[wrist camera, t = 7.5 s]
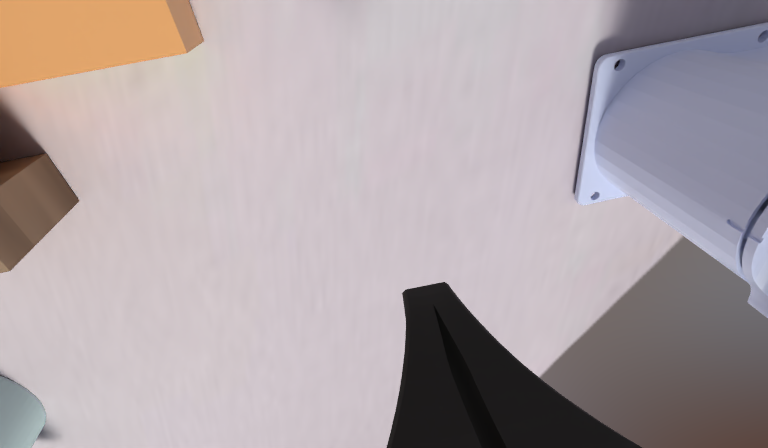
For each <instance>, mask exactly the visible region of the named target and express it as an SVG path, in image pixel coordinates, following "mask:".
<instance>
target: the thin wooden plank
mask: <svg viewBox="0 0 768 448" xmlns="http://www.w3.org/2000/svg"><path fill="white" fill-rule="evenodd" d="M202 42H204V40H203V38H202V35H201V32H200V30H199V27H198V24H197V22H196V19H195V16H194V14H193V11H192V8H191V6H190V3H189V0H0V88H2V87H7V86H12V85H18V84H23V83H28V82H34V81H39V80H45V79H50V78H55V77H61V76H66V75H72V74H77V73H82V72H88V71H93V70H99V69H104V68H109V67H115V66H120V65H125V64H131V63H136V62H142V61H147V60H152V59H158V58H163V57H169V56H174V55H179V54H185V53H188V52H189V51H191V50H192V49H194V48H195V47H196V46H198V45H199V44H201V43H202Z"/></svg>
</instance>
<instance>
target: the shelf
mask: <svg viewBox="0 0 768 448" xmlns="http://www.w3.org/2000/svg"><path fill="white" fill-rule="evenodd" d="M78 202H79V200H78V199H77V197H76V196H75V194H74V193H73V191H72V190H71V189H70V187H69V186H68V184H67V183H66V181H65V180H64V178H63V177H62V176H61V174H60V173H59V171H58V170H57V168H56V167H55V166H54V164H53V163H52V161H51V160H50V158H49V157H48V156H47V154H41V155H36V156H31V157H26V158H20V159H15V160H10V161H5V162H0V273H3V272H7V271H11V270H12V269H13V267H14V266H15V265H16V264H17V263H18V262H19V261H20V260H21V259H22V258H23V257H24V256H25V255H26V254H27V253H28V252H29V251H30V250H31V249H32V248H33V247H34V246H35V245H36V244H37V243H38V242H39V241H40V240H41V239H42V238H43V237H44V236H45V235H46V234H47V233H48V232H49V231H50V230H51V229H52V228H53V227H54V226H55V225H56V224H57V223H58V222H59V221H60V220H61V219H62V218H63V217H64V216H65V215H66V214H67V213H68V212H69V211H70V210H71V209H72V208H73V207H74V206H75V205H76V204H77V203H78Z"/></svg>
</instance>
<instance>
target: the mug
mask: <svg viewBox="0 0 768 448" xmlns="http://www.w3.org/2000/svg"><path fill="white" fill-rule="evenodd" d="M45 422H46V413H45V409H44V407H43V405H42V404H41V402H40V401H39V400H38V399H37V398H36V397H35V396H34V395H33V394H32V393H31V392H30V391H28V390H27V389H26V388H24V387H22V386H21V385H19V384H17V383H15V382H14V381H11V380H9V379H7V378H5V377H2V376H0V448H31V447H32V446H33V444H34V442H35V440H36V439H37V437H38V435H39V434H40V432H41V430H42V428H43V427H44V425H45Z"/></svg>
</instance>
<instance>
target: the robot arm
mask: <svg viewBox="0 0 768 448" xmlns="http://www.w3.org/2000/svg"><path fill="white" fill-rule="evenodd" d="M760 34H761V35H760ZM759 35H760V37H759ZM758 37H759V38H758ZM618 60H620V63H619V65H618V66H617V67H616V68H615V69H614V65H615V63H616V62H617V61H618ZM593 193H595V194H594V195H593V196H591V195H592V194H593ZM625 196H630V197H631V198H632V199H634V200H635V201H636V202H638V203H639V204H641V205H642V206H643V207H645V208H646V209H647V210H649V211H650V212H652V213H653V214H654V215H656V216H657V217H658V218H660V219H661V220H663V221H664V222H665V223H667V224H668V225H669V226H671V227H672V228H674V229H675V230H676V231H678V232H679V233H680V234H682V235H683V236H685V237H686V238H687V239H689V240H690V241H691V242H693V243H695V244H696V245H697V246H698V247H700V248H701V249H703V250H704V251H705V252H707V253H708V254H709V255H711V256H712V257H714V258H715V259H716V260H718V261H719V262H720V263H722V264H723V265H724V266H726V267H727V268H729V269H730V270H731V271H733V272H734V273H735V274H737V275H738V276H740V277H741V278H742V279H744V280H745V281H747V282H748V283H749V284H750V286H751V294H750V296H749V299H748V303H749V304H750V305H751V306H753V307H754V308H755V309H757V310H758V311H759V312H760V313H762V314H763V315H765V316H766V317H767V318H768V22H767V23H761V24H756V25H751V26H746V27H741V28H736V29H731V30H726V31H721V32H716V33H711V34H706V35H701V36H696V37H691V38H686V39H680V40H675V41H670V42H665V43H660V44H655V45H650V46H645V47H640V48H635V49H630V50H625V51H620V52H615V53H610V54H606V55H603V56H602V57H600V58H599V59H598V61H597V62H596V64H595V67H594V73H593V79H592V86H591V92H590V99H589V105H588V112H587V119H586V125H585V132H584V138H583V145H582V152H581V158H580V165H579V171H578V178H577V184H576V191H575V200H576V202H577V203H578V204H580V205H588V204H592V203H597V202H602V201H606V200H611V199H616V198H620V197H625ZM402 294H403V301H404V308H405V316H406V340H405V355H404V363H403V371H402V379H401V385H400V391H399V396H398V402H397V407H396V412H395V416H394V420H393V425H392V429H391V433H390V437H389V441H388V445H387V448H642V447H640V446H639V445H637V444H635V443H634V442H632V441H630V440H628V439H627V438H625V437H623V436H622V435H620V434H619V433H617V432H615V431H614V430H612V429H611V428H609V427H608V426H606V425H604V424H603V423H601V422H600V421H598V420H597V419H595V418H594V417H592V416H591V415H589V414H588V413H587V412H585V411H584V410H582V409H581V408H579V407H578V406H576V405H575V404H573V403H572V402H571V401H569V400H568V399H566V398H565V397H564V396H562V395H561V394H559V393H558V392H557V391H555V390H554V389H553V388H552V387H550V386H549V385H548V384H546V383H545V382H544V381H543V380H541V379H540V378H539V377H538V376H536V375H535V374H534V373H533V372H532V371H530V370H529V369H528V368H527V367H526V366H524V365H523V364H522V363H521V362H520V361H519V360H518V359H516V358H515V357H514V356H513V355H512V354H511V353H510V352H509V351H508V350H507V349H506V348H505V347H503V346H502V345H501V344H500V343H499V342H498V341H497V340H496V339H495V338H494V337H493V336H492V335H491V334H490V333H489V332H488V331H487V330H486V329H485V328H484V326H483V325H482V324H481V323H480V322H479V321H478V320H477V319H476V318H475V317H474V316H473V315H472V314H471V312H470V311H469V310H468V309H467V308H466V307H465V305H464V304H463V303H462V302H461V301H460V299H459V298H458V297H457V296H456V294H455V293H454V292H453V290H452V289H451V288H450V286H449V285H448V284H447V283H445V282H442V283H437V284H432V285H427V286H422V287H417V288H412V289H407V290H405V291H404V292H403V293H402Z"/></svg>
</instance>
